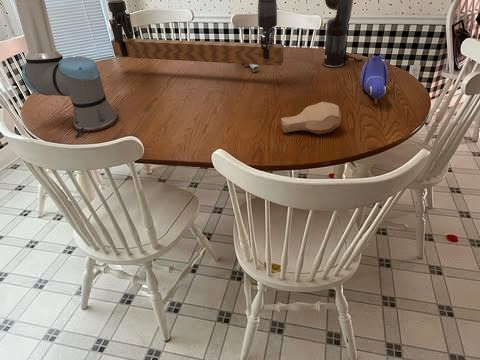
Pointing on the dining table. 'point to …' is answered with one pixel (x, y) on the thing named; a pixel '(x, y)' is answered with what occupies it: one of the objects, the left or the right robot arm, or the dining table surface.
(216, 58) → the bar
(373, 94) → the toy
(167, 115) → the dining table surface
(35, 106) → the dining table surface
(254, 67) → the tape dispenser
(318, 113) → the squash
